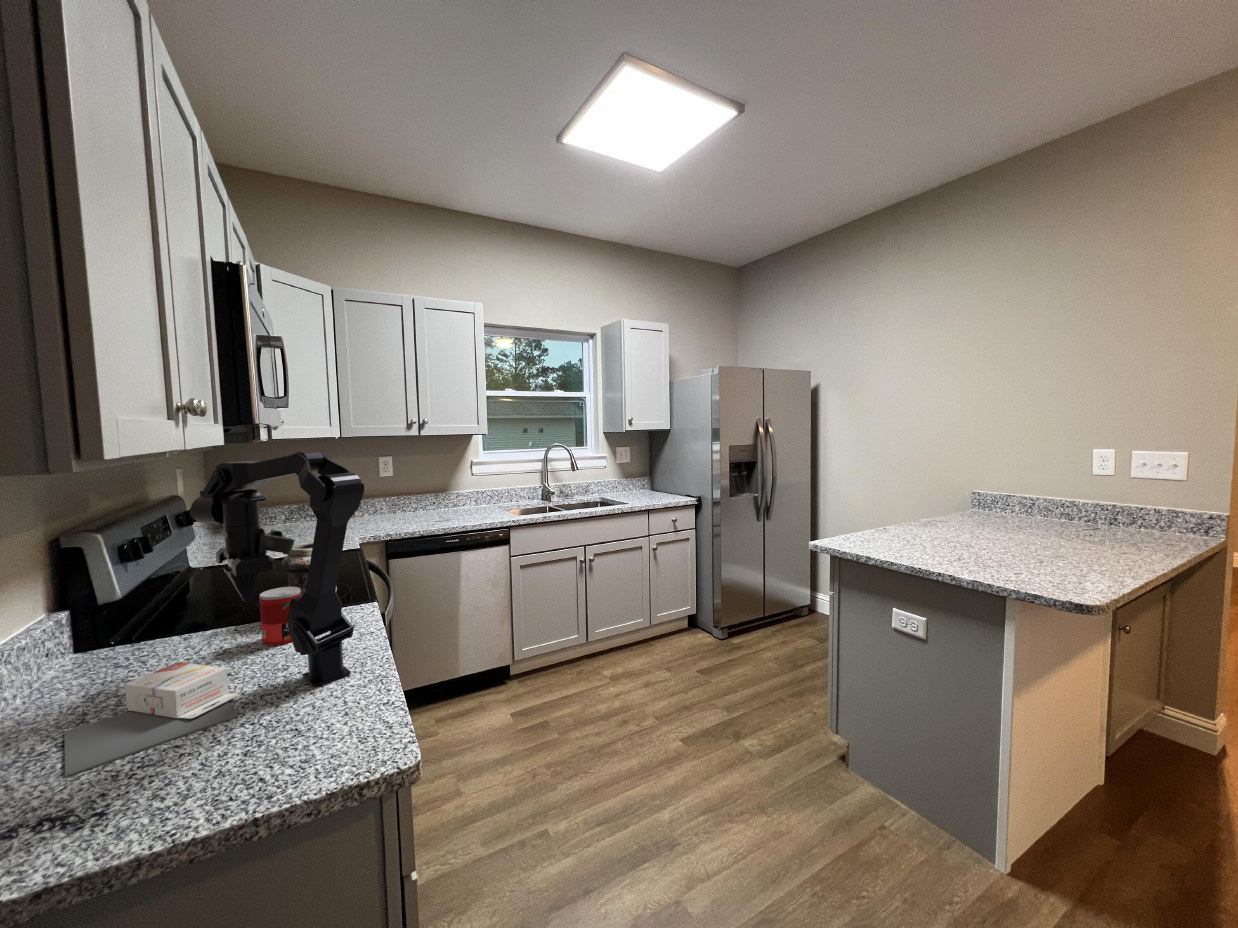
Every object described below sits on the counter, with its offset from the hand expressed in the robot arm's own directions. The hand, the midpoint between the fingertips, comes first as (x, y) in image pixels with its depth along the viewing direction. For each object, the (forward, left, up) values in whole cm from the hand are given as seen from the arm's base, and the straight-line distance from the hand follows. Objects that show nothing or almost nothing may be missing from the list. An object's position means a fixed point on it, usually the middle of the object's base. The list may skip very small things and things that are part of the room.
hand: (247, 601), depth 101 cm
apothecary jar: (+24, -18, -13) cm, 33 cm away
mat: (-14, +16, -13) cm, 25 cm away
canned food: (+10, -8, -13) cm, 18 cm away
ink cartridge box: (-4, +15, -10) cm, 18 cm away
